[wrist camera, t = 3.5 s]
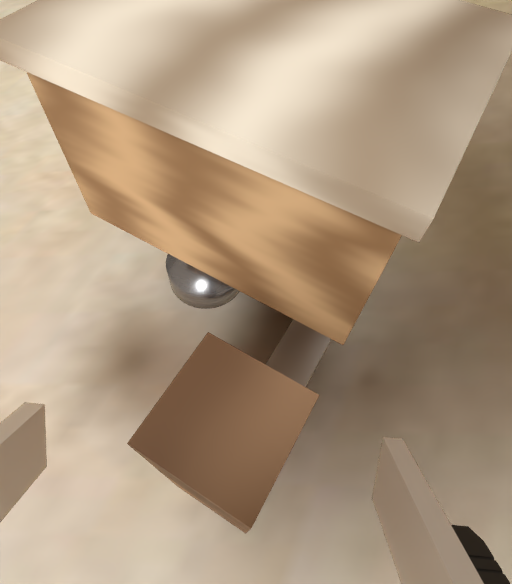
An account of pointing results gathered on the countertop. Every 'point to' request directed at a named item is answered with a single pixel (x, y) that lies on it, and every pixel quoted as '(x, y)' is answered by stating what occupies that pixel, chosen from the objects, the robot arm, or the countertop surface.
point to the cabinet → (265, 129)
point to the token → (197, 285)
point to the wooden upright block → (232, 421)
